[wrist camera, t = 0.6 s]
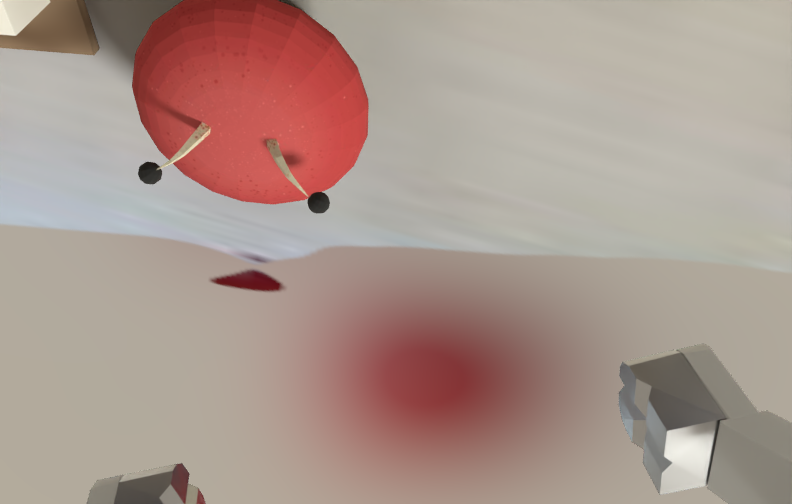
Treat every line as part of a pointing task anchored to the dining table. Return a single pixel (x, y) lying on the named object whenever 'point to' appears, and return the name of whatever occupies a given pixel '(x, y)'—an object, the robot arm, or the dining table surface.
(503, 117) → the dining table surface
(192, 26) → the mushroom
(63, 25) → the base board
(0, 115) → the dining table surface
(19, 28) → the socket block
